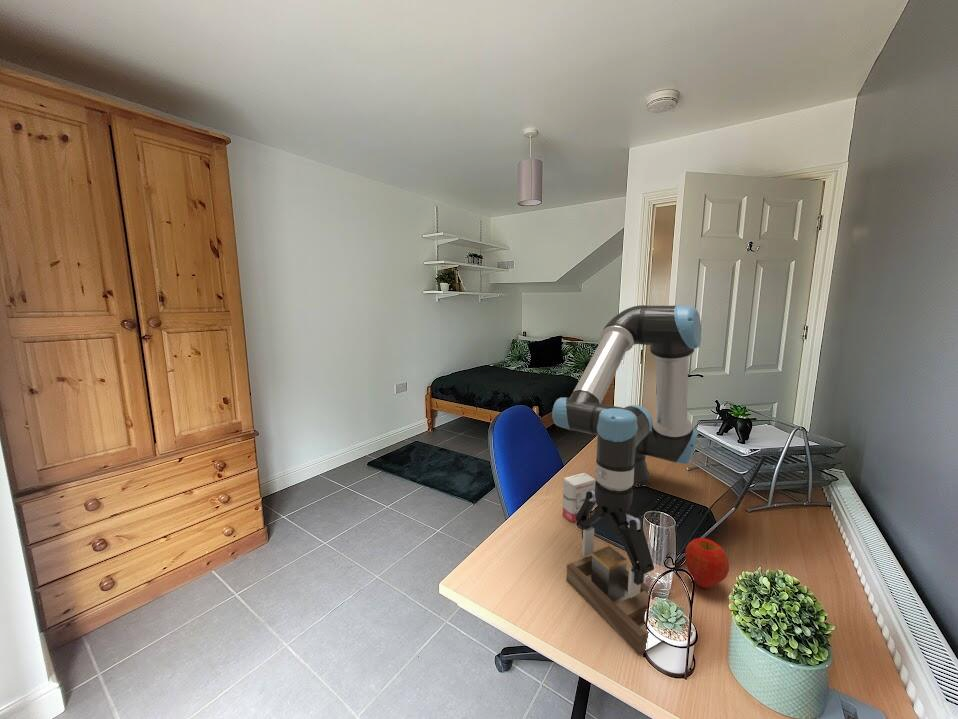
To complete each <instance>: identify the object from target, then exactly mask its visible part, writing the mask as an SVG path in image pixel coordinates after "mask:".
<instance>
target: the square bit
mask: <svg viewBox="0 0 958 719" xmlns="http://www.w3.org/2000/svg"><path fill="white" fill-rule="evenodd" d="M591 555H592V572H591V581H592V582H593V583H594V584H595V585H596V586H597V587H598V588H599V589H600V590H601V591H603V592H604V593H605V594H606V595H607V596H608V597H609V598H610V599H611V600H612V601H613V602H614V601H616V600H618V599H620V598H622V597H624V594H625V578H626V570H627V563H628V558H626V557H625V556H623V555H622V554H621V553H620V552H618V551H617V550H616V549H615V548H613V547H612V546H610V545H606V546H604V547H602V548H600V549H597V550H593V552H592V554H591Z"/></svg>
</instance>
